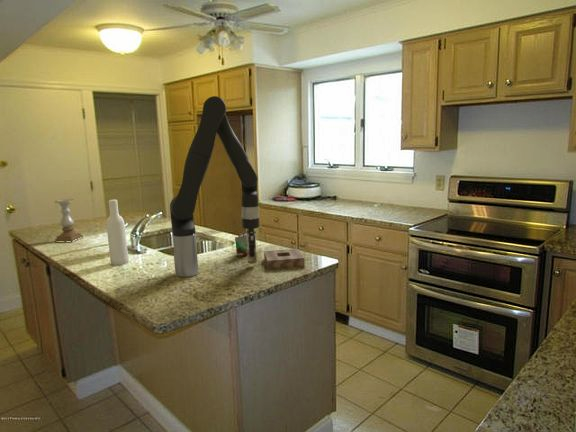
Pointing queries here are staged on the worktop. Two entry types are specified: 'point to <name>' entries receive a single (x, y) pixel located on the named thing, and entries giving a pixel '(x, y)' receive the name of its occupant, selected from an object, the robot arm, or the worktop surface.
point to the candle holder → (67, 222)
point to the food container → (241, 245)
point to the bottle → (116, 236)
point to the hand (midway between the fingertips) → (251, 254)
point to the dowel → (249, 259)
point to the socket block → (284, 259)
